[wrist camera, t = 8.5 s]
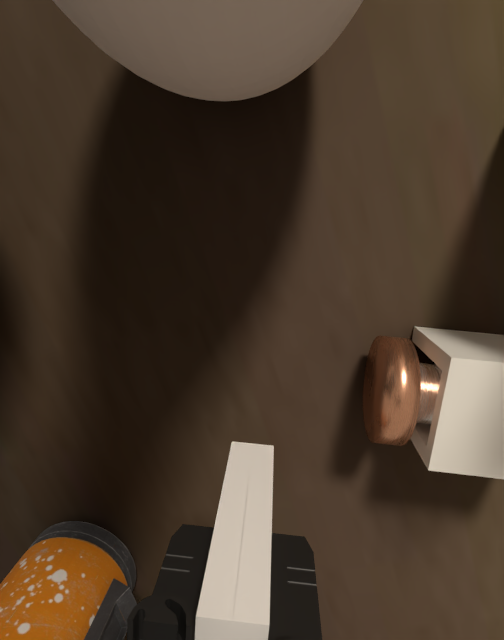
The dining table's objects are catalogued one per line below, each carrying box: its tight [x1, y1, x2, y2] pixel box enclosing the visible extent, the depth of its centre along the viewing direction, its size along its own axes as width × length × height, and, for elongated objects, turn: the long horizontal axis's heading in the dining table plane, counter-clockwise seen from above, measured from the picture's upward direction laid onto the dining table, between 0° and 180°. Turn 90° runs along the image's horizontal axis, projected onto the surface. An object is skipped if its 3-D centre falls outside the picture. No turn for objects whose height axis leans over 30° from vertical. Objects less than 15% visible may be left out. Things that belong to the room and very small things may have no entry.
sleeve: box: [410, 326, 504, 479], centre depth 25 cm, size 8×7×6 cm
